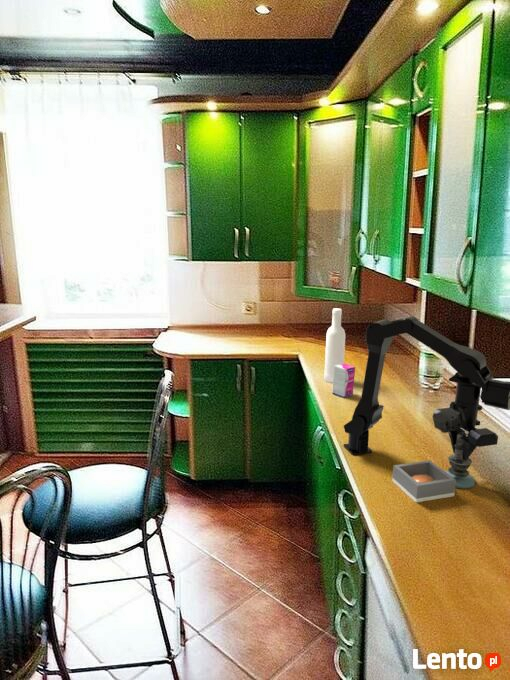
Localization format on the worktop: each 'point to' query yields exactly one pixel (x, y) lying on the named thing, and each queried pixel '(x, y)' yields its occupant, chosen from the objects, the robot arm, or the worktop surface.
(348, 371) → the supplement box
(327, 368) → the bottle
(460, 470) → the salt shaker
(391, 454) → the worktop surface
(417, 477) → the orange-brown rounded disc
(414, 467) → the grey square tray
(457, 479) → the slate coaster
